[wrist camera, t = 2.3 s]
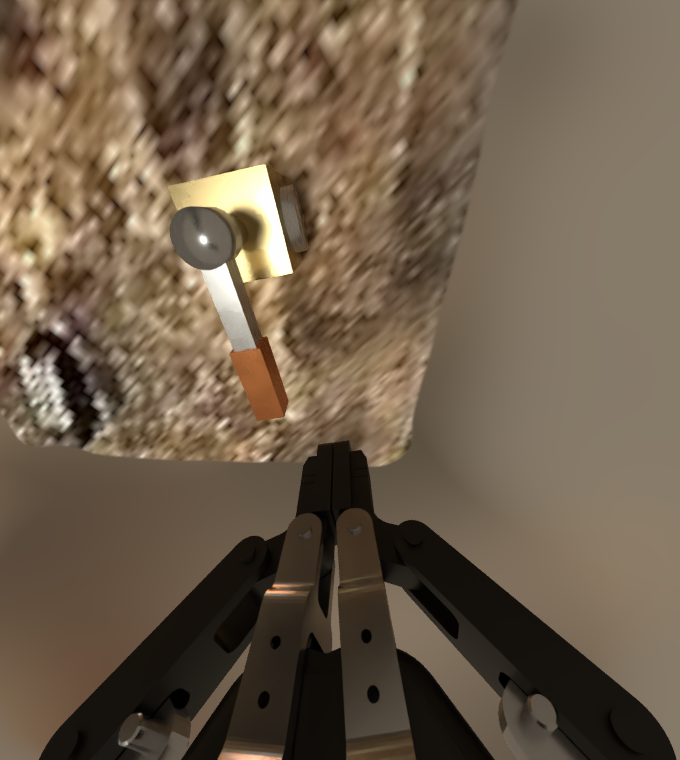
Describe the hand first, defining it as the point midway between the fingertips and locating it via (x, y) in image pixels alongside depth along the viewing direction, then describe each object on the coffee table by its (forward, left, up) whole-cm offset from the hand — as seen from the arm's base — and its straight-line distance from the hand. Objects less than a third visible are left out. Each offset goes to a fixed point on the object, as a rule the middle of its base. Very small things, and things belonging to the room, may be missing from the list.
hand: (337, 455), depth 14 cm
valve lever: (-4, -6, -10) cm, 13 cm away
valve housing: (-10, -6, -21) cm, 24 cm away
